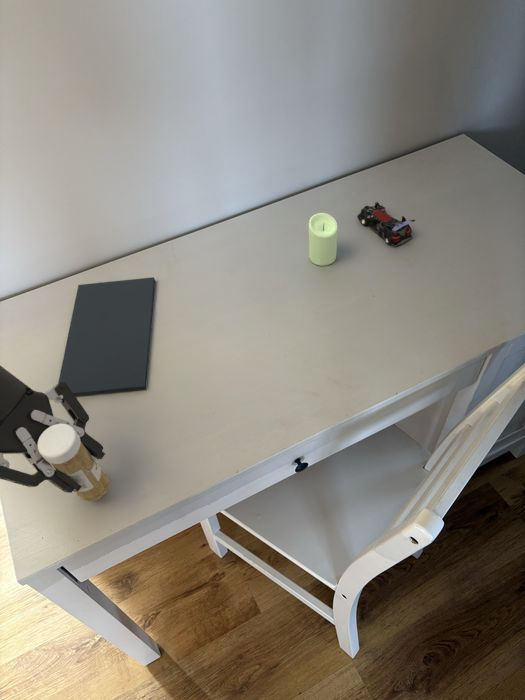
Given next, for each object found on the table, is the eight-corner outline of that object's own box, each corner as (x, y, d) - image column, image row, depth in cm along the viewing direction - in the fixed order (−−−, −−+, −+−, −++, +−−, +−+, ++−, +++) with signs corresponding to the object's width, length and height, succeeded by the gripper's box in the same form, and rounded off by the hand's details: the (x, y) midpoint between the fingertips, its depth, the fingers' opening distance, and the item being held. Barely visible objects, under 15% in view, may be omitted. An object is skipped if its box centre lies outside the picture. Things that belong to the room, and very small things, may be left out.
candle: (341, 259, 98) (343, 224, 92) (318, 269, 97) (318, 234, 90) (326, 244, 101) (327, 208, 94) (304, 254, 100) (303, 218, 93)
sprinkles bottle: (116, 477, 73) (83, 429, 63) (97, 507, 71) (59, 462, 60) (88, 466, 75) (51, 417, 64) (69, 495, 72) (27, 449, 62)
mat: (146, 389, 84) (144, 386, 83) (58, 398, 84) (55, 394, 83) (155, 280, 98) (154, 277, 98) (80, 288, 99) (78, 284, 98)
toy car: (391, 250, 98) (393, 233, 95) (349, 217, 105) (351, 200, 102) (416, 237, 100) (419, 219, 97) (373, 205, 107) (375, 188, 103)
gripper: (-72, 434, 55) (62, 524, 61) (22, 335, 63) (134, 424, 68) (-77, 440, 61) (45, 522, 67) (9, 349, 69) (112, 430, 74)
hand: (89, 472), depth 67 cm, fingers closed on sprinkles bottle, 4 cm apart
